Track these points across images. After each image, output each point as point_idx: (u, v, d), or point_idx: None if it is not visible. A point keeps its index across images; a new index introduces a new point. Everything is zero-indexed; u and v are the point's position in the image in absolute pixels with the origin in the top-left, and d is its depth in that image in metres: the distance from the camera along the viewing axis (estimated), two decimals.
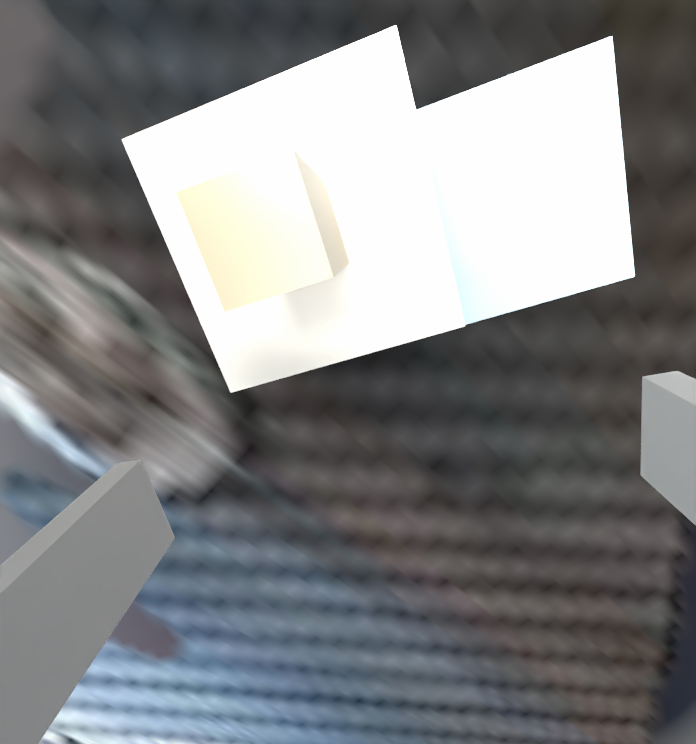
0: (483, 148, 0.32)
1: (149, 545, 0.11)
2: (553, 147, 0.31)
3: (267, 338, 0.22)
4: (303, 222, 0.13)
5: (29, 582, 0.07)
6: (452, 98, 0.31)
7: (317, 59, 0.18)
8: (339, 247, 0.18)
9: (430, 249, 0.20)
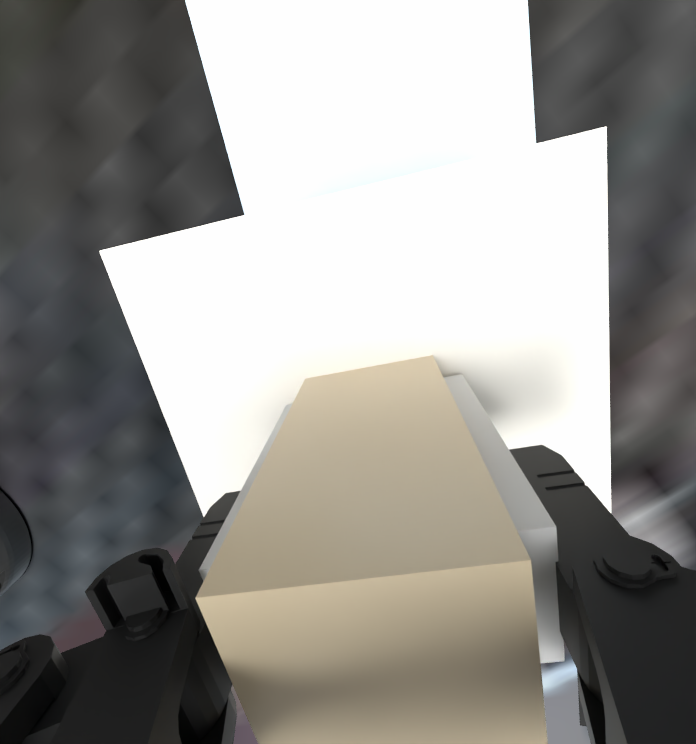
0: (288, 107, 0.23)
1: None
2: None
3: None
4: (367, 603, 0.05)
5: None
6: (230, 154, 0.24)
7: (147, 367, 0.13)
8: (411, 394, 0.09)
9: (432, 204, 0.11)
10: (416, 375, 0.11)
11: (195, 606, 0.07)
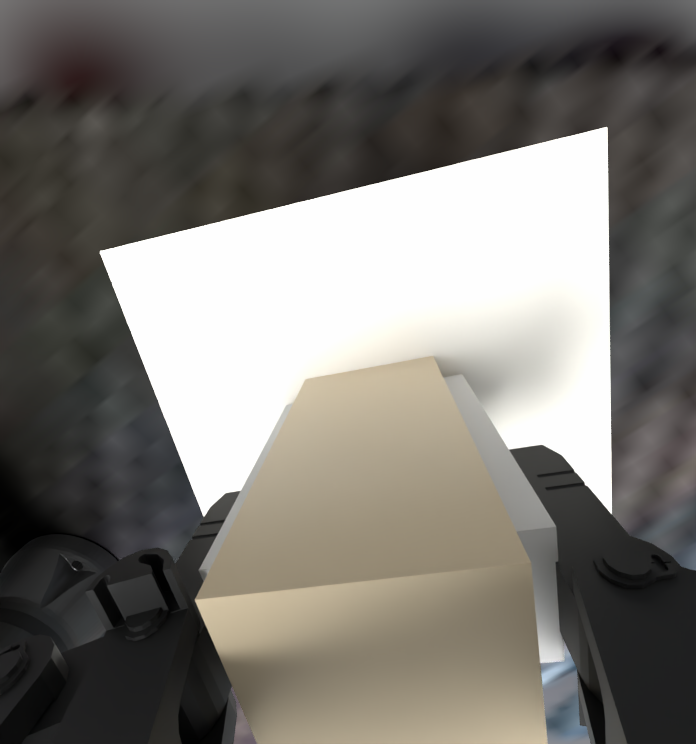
0: None
1: None
2: None
3: None
4: (367, 606, 0.05)
5: None
6: None
7: (147, 367, 0.13)
8: (411, 395, 0.09)
9: (432, 204, 0.11)
10: (416, 376, 0.11)
11: (195, 606, 0.07)
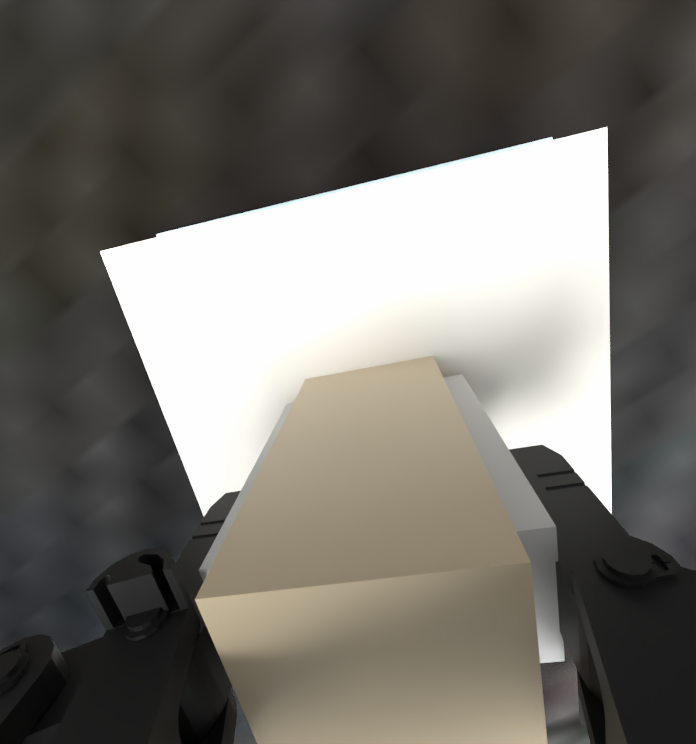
0: None
1: None
2: None
3: None
4: (366, 606, 0.05)
5: None
6: None
7: (147, 368, 0.13)
8: (411, 395, 0.09)
9: (432, 204, 0.11)
10: (416, 376, 0.11)
11: (195, 606, 0.07)
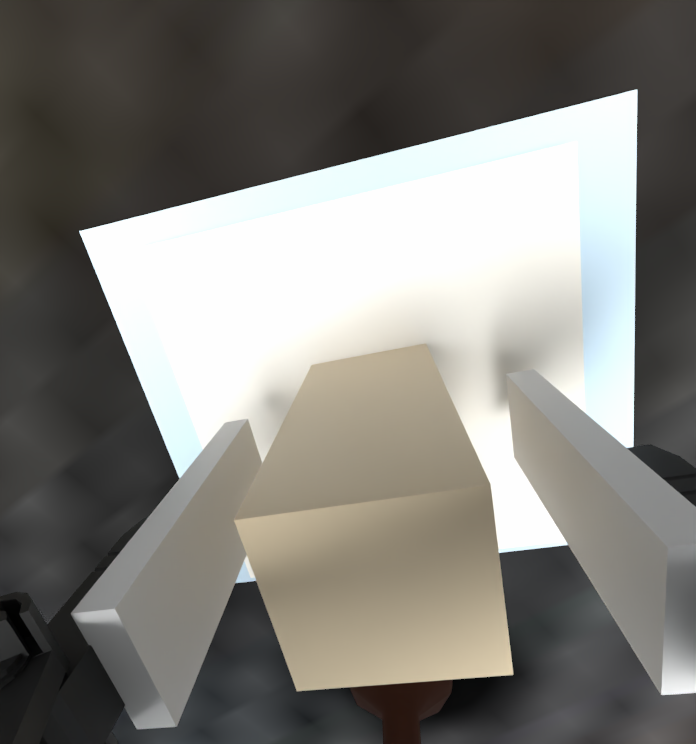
0: None
1: None
2: None
3: (517, 474, 0.15)
4: (367, 522, 0.06)
5: (196, 507, 0.08)
6: None
7: (169, 355, 0.14)
8: (405, 375, 0.11)
9: (424, 208, 0.12)
10: (410, 360, 0.12)
11: (71, 650, 0.06)
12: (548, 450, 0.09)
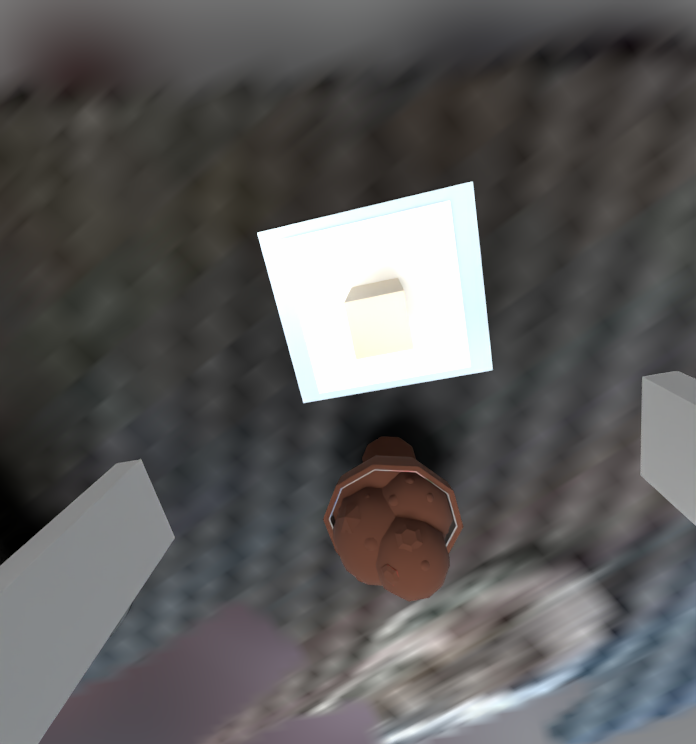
0: None
1: (149, 545, 0.11)
2: None
3: (437, 336, 0.35)
4: (375, 302, 0.26)
5: (29, 582, 0.07)
6: (293, 362, 0.37)
7: (291, 284, 0.34)
8: (388, 283, 0.31)
9: (396, 224, 0.32)
10: (391, 281, 0.32)
11: None
12: None
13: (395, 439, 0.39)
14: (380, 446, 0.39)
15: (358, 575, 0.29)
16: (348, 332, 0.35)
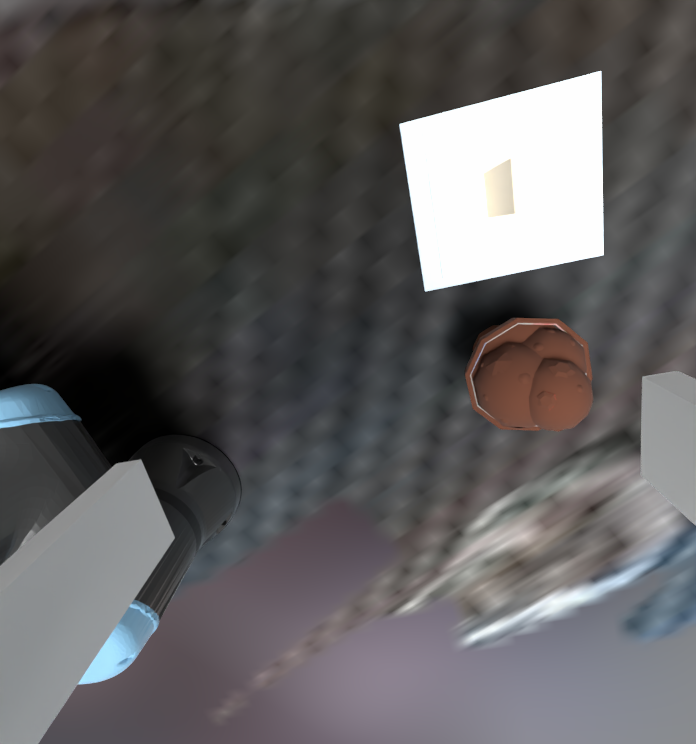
0: None
1: (149, 545, 0.11)
2: None
3: (558, 220, 0.38)
4: (539, 156, 0.30)
5: (29, 582, 0.07)
6: (420, 251, 0.41)
7: (428, 171, 0.38)
8: None
9: (530, 111, 0.36)
10: None
11: None
12: None
13: None
14: None
15: (508, 411, 0.33)
16: (476, 218, 0.39)
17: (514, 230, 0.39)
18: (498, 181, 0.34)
